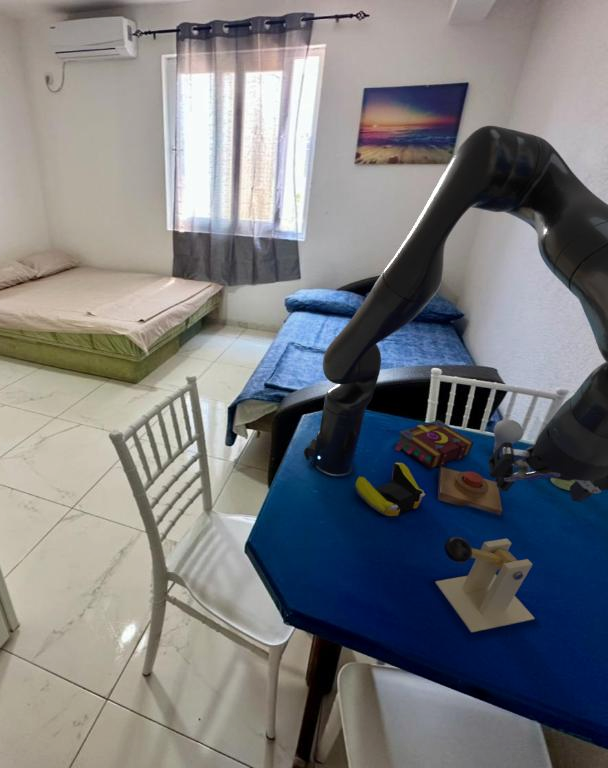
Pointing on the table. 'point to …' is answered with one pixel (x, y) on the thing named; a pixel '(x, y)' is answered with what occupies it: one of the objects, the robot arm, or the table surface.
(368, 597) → the table surface
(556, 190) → the robot arm
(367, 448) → the table surface
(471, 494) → the button block
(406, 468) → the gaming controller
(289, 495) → the table surface
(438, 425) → the decorative book
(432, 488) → the table surface
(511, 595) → the wooden lever stand
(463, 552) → the wooden lever handle
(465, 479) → the button
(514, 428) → the lightbulb
